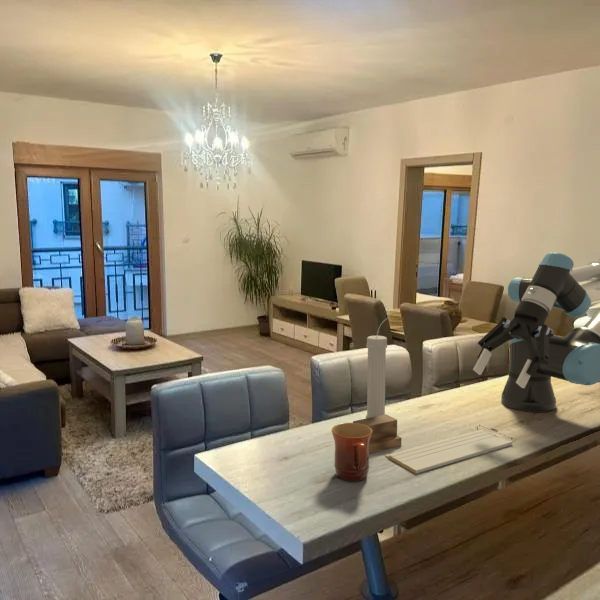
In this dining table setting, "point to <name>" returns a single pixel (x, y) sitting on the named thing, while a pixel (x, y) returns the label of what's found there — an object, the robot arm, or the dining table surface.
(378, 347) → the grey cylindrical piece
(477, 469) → the dining table surface
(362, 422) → the walnut stepped block
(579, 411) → the dining table surface
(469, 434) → the baseboard molding
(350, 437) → the mug
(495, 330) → the robot arm
